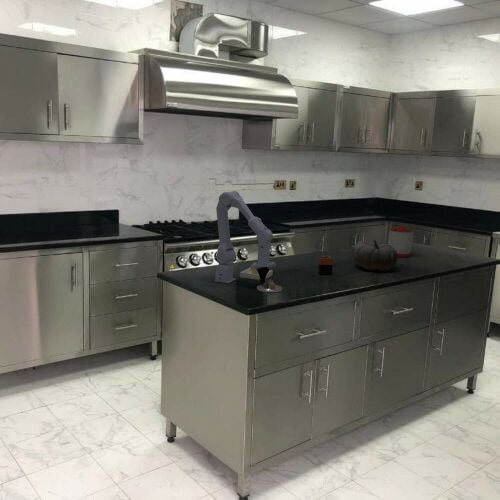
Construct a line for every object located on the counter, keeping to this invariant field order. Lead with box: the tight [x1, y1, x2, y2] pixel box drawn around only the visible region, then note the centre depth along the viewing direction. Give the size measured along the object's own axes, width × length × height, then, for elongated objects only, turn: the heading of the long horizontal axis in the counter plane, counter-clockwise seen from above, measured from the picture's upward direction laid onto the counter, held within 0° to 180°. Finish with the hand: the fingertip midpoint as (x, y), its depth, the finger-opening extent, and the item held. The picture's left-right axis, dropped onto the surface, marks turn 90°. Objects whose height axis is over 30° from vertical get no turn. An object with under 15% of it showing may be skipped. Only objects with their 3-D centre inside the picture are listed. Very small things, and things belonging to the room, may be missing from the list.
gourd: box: [352, 239, 399, 272], centre depth 308 cm, size 25×25×17 cm
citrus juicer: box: [387, 224, 416, 258], centre depth 348 cm, size 16×17×20 cm
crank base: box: [256, 283, 283, 293], centre depth 257 cm, size 12×12×1 cm
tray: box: [239, 267, 274, 281], centre depth 280 cm, size 13×13×2 cm
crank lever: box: [263, 278, 276, 289], centre depth 259 cm, size 16×3×3 cm, turn 18°
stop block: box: [251, 262, 259, 275], centre depth 280 cm, size 4×4×6 cm
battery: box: [318, 255, 334, 276], centre depth 290 cm, size 4×7×10 cm, turn 92°
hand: (262, 282), depth 261 cm, fingers closed, pressing on crank lever
